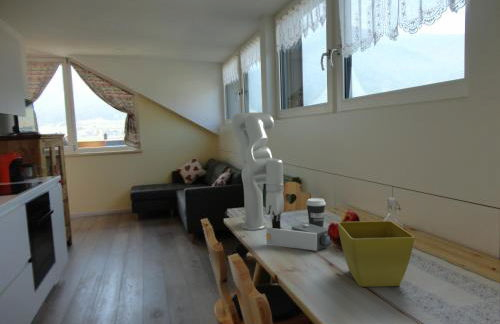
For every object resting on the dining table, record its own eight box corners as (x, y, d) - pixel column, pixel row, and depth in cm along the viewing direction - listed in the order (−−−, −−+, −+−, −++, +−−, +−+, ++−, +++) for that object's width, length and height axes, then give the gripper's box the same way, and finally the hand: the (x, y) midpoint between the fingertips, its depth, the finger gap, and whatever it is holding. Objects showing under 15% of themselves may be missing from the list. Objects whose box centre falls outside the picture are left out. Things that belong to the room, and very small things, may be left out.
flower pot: (337, 266, 121) (336, 221, 119) (390, 265, 120) (391, 220, 119) (351, 292, 102) (351, 238, 100) (415, 291, 101) (416, 237, 100)
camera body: (292, 242, 148) (291, 225, 148) (306, 237, 154) (306, 221, 153) (320, 251, 136) (319, 233, 135) (334, 246, 141) (334, 228, 141)
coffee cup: (304, 231, 163) (303, 201, 161) (308, 226, 172) (308, 197, 170) (324, 233, 159) (324, 202, 158) (327, 227, 168) (327, 198, 167)
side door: (317, 249, 137) (316, 233, 136) (316, 251, 135) (315, 234, 135) (267, 243, 147) (267, 227, 146) (266, 244, 145) (265, 228, 145)
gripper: (273, 185, 154) (275, 224, 155) (259, 190, 140) (261, 233, 142) (289, 185, 150) (290, 226, 151) (276, 191, 137) (277, 235, 138)
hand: (276, 229), depth 147 cm, fingers closed
